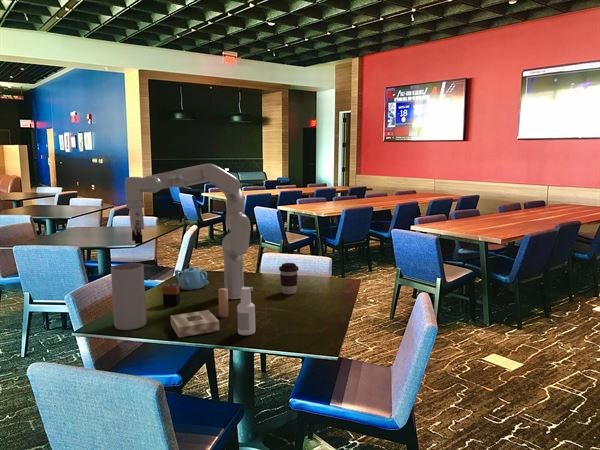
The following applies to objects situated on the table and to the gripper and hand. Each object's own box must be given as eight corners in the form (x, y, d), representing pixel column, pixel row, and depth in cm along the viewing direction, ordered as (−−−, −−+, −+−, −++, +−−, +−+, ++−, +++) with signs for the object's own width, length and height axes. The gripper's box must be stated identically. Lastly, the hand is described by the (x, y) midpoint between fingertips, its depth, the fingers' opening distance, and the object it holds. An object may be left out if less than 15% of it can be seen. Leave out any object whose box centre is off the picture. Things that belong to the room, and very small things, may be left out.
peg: (226, 314, 211) (226, 287, 209) (229, 316, 207) (228, 289, 206) (218, 315, 209) (217, 288, 207) (220, 318, 205) (219, 291, 204)
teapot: (170, 287, 258) (169, 267, 256) (198, 281, 269) (197, 262, 268) (183, 292, 246) (183, 271, 245) (212, 287, 258) (212, 266, 256)
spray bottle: (238, 329, 191) (237, 286, 188) (255, 329, 191) (254, 285, 189) (237, 336, 184) (236, 290, 181) (255, 335, 184) (254, 290, 182)
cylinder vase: (135, 318, 206) (132, 262, 202) (152, 324, 198) (149, 265, 195) (108, 326, 196) (104, 267, 193) (125, 333, 188) (121, 271, 185)
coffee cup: (299, 290, 249) (299, 262, 247) (297, 295, 239) (297, 266, 237) (280, 289, 250) (280, 261, 248) (278, 295, 240) (277, 265, 238)
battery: (176, 306, 223) (175, 285, 222) (163, 305, 224) (162, 285, 223) (180, 303, 227) (179, 283, 226) (167, 303, 228) (166, 282, 227)
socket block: (208, 319, 204) (208, 310, 204) (219, 330, 190) (219, 321, 189) (170, 324, 197) (170, 315, 197) (178, 337, 183) (178, 327, 182)
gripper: (146, 205, 207) (148, 244, 209) (141, 202, 223) (143, 238, 225) (128, 206, 204) (130, 245, 206) (124, 203, 219) (126, 240, 222)
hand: (137, 242), depth 216 cm, fingers open, 9 cm apart
